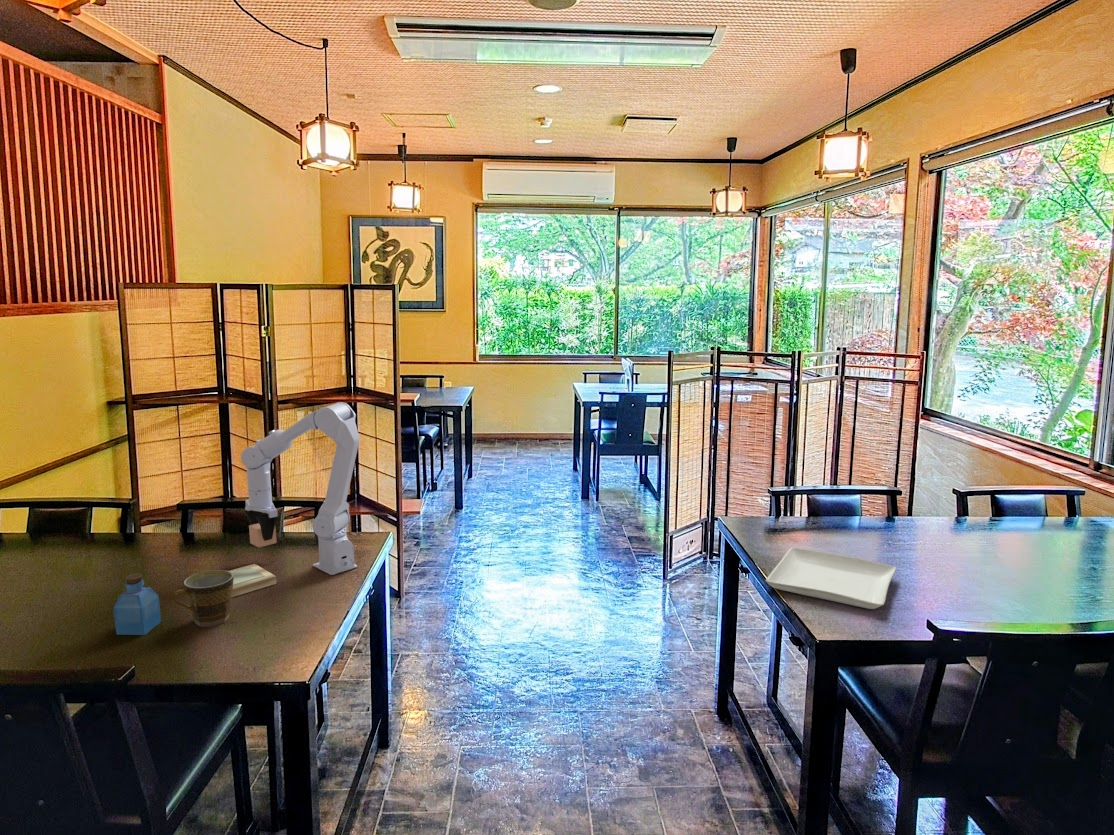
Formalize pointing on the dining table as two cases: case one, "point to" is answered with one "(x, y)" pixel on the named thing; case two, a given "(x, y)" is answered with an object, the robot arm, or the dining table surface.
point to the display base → (251, 579)
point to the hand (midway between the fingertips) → (263, 537)
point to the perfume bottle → (136, 608)
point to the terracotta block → (260, 536)
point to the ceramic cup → (208, 596)
